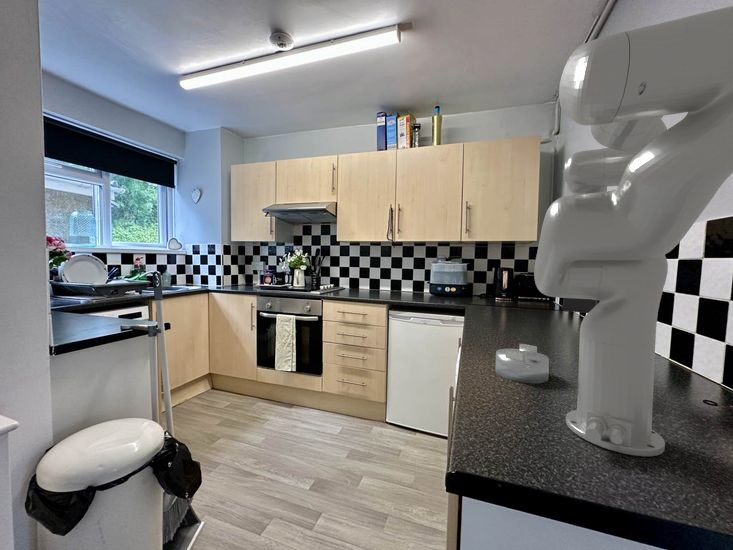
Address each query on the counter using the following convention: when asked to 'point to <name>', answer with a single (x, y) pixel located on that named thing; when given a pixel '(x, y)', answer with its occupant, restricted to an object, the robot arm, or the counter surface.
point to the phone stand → (579, 305)
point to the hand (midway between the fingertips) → (582, 297)
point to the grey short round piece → (522, 364)
